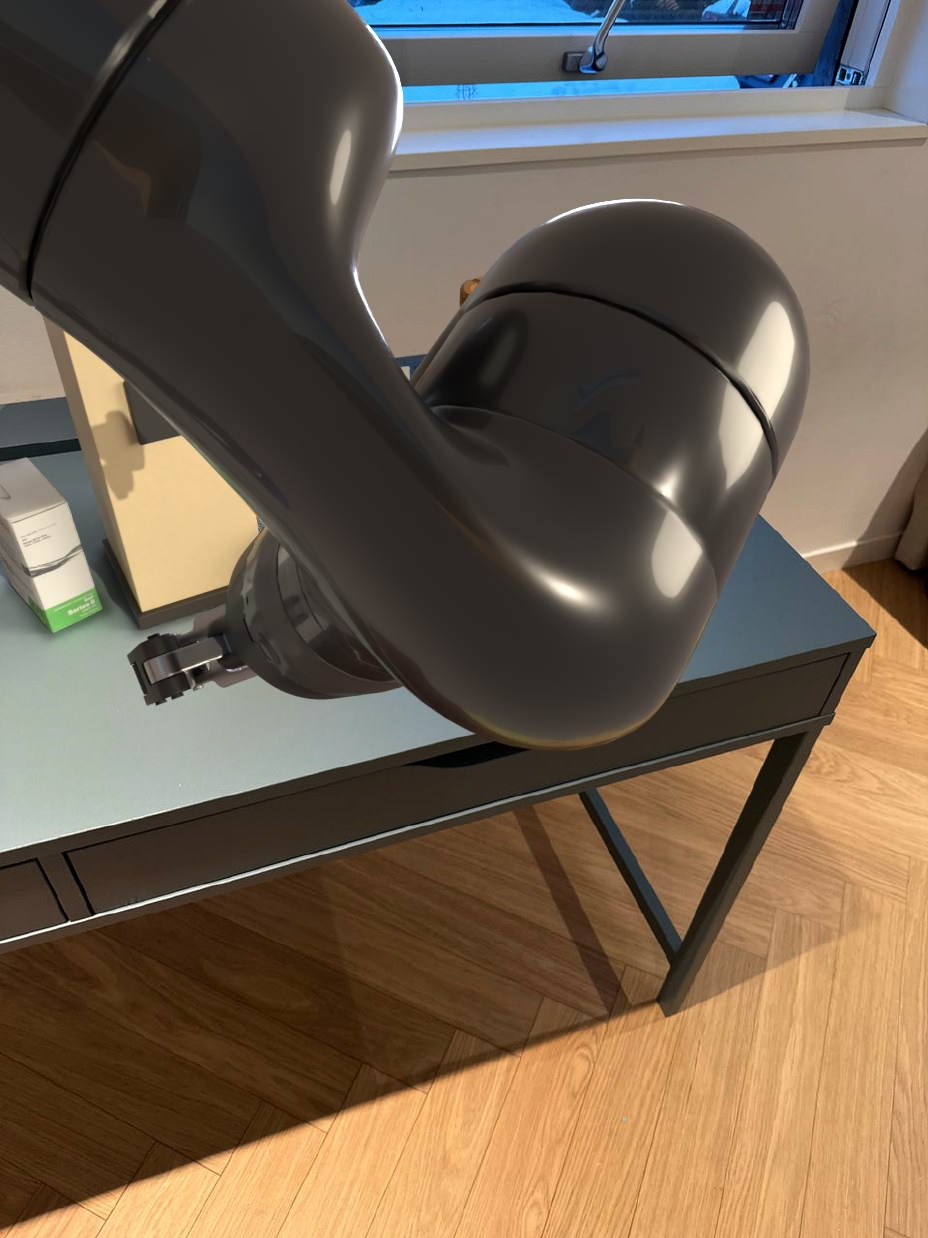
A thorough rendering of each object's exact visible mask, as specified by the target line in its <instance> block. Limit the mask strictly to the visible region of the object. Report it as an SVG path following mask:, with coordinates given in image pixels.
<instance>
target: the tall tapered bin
mask: <svg viewBox="0 0 928 1238" xmlns="http://www.w3.org/2000/svg"><path fill="white" fill-rule="evenodd" d="M42 320H43V324H44V326H45V329H46V333H47V336H48V340H49V344H50V347H51V350H52V354H53V357H54V361H55V364H56V367H57V370H58V374H59V377H60V381H61V384H62V388H63V391H64V395H65V398H66V401H67V404H68V408H69V412H70V415H71V419H72V422H73V424H74V428H75V432H76V435H77V440H78V442H79V446H80V449H81V452H82V457H83V459H84V463H85V467H86V470H87V473H88V476H89V480H90V483H91V486H92V490H93V494H94V497H95V501H96V503H97V507H98V510H99V514H100V518H101V521H102V525H103V528H104V531H105V534H106V537H107V538H103V539H102V540H101V543H102V546H103V549H104V553H105V554H106V557H107V559H108V561H109V564H110V566H111V567H112V570H113V572H114V574H115V576H116V578H117V582H118V583H119V585H120V587H121V590H122V592H123V594H124V596H125V598H126V601H127V603H128V605H129V607H130V609H131V612H132V614H133V616H134V619H135V620H136V622H137V624H138V627H139V630H141V631H144V630H147V629H151V628H154V627H156V626H160V625H163V624H166V623H169V622H173V621H176V620H179V619H181V618H184V617H185V618H186V617H188V616H190V615H195V614H197V613H200V612H203V611H207V610H209V609H214V608H217V607H219V606H221V605H224V604H226V599H227V591H228V586H229V582H230V578H231V575H232V572H233V570H234V568H235V565H236V563H237V562H238V560H239V558H240V556H241V555H242V553H243V552H244V551H245V549H246V548H247V547H248V546H249V544H250V543H251V542H252V541H253V540H254V539H255V538H256V537H257V535H258V534H259V533H260V532H259V525H258V517H257V516H256V515H255V514H254V513H253V512H252V510H251V509H250V508H249V507H248V506H247V505H246V503H245V502H244V501H243V500H242V499H241V498H240V497H239V496H238V495H237V494H236V492H235V491H234V490H233V489H232V488H231V487H230V486H229V485H228V484H227V483H226V482H225V481H224V480H223V479H222V477H221V476H220V475H219V474H218V473H217V472H216V471H215V470H214V469H213V468H212V467H211V466H210V465H209V463H208V462H207V461H206V460H205V459H204V458H203V457H202V456H201V455H200V454H199V453H198V452H197V451H196V450H195V449H194V448H193V447H192V446H191V445H190V444H189V443H188V442H187V441H186V440H185V439H184V438H183V436H182V435H181V434H180V433H179V432H178V431H177V430H176V429H175V428H174V427H173V426H172V425H171V424H170V423H169V422H167V421H166V420H165V419H164V418H163V417H162V416H161V415H160V414H159V413H158V412H157V411H156V410H155V409H154V408H153V407H152V406H151V405H150V404H149V403H148V402H147V401H146V400H145V399H144V398H143V397H142V396H141V395H140V394H139V393H138V392H137V391H136V390H135V389H134V388H132V387H131V386H130V385H129V384H128V383H127V382H126V381H125V380H124V379H123V378H122V377H120V376H119V375H118V374H117V373H116V372H115V371H114V370H113V369H112V368H111V367H109V366H108V365H107V364H106V363H105V362H103V361H102V360H101V359H100V358H99V357H97V356H96V355H95V354H94V353H92V352H91V351H90V350H89V349H88V348H86V347H85V346H84V345H83V344H81V343H80V342H79V341H77V340H76V339H74V338H73V337H72V336H70V335H69V334H68V333H66V332H65V331H63V330H62V329H61V328H59V327H58V326H56V325H55V324H54V323H52V322H51V321H49V320H48V319H47V318H45V317H44V316H42Z"/></svg>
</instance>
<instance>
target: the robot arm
mask: <svg viewBox="0 0 928 1238" xmlns="http://www.w3.org/2000/svg"><path fill="white" fill-rule="evenodd" d="M395 65H396V64H395V63H394V60H393V59H392V57H391V55H390V54H389V52H388V50H387V49H386V47H385V45H384V44H383V42H382V41H381V39H380V38H379V37H378V35H377V34H376V33H375V31H374V30H373V28H372V27H371V26H370V25H369V24H368V23H367V22H366V21H365V19H364V18H363V17H362V16H361V14H360V13H358V11H357V10H356V9H355V8H354V7H353V5H352V4H350V2H348V0H0V286H1V287H2V288H4V289H5V290H7V291H8V292H9V293H11V294H12V295H13V296H15V297H16V298H17V299H19V300H20V301H22V302H23V303H25V304H26V305H27V306H29V307H33V308H34V309H35V310H36V311H38V312H39V314H41V316H42V317H43V316H44V317H45V318H47V319H48V320H49V321H51V322H52V323H54V324H55V325H56V326H58V327H59V328H61V329H62V330H63V331H65V332H66V333H68V334H69V335H70V336H72V337H73V338H74V339H76V340H77V341H79V342H80V343H81V344H83V345H84V346H85V347H86V348H88V349H89V350H90V351H91V352H92V353H94V354H95V355H96V356H97V357H99V358H100V359H101V360H102V361H103V362H105V363H106V364H107V365H108V366H109V367H111V368H112V369H113V370H114V371H115V372H116V373H117V374H118V375H119V376H120V377H122V378H123V379H124V380H125V381H126V382H127V383H128V384H129V385H130V386H131V387H132V388H134V389H135V390H136V391H137V392H138V393H139V394H140V395H141V396H142V397H143V398H144V399H145V400H146V401H147V402H148V403H149V404H150V405H151V406H152V407H153V408H154V409H155V410H156V411H157V412H158V413H159V414H160V415H161V416H162V417H163V418H164V419H165V420H166V421H167V422H169V423H170V424H171V425H172V426H173V427H174V428H175V429H176V430H177V431H178V432H179V433H180V434H181V435H182V436H183V438H184V439H185V440H186V441H187V442H188V443H189V444H190V445H191V446H192V447H193V448H194V449H195V450H196V451H197V452H198V453H199V454H200V455H201V456H202V457H203V458H204V459H205V460H206V461H207V462H208V463H209V465H210V466H211V467H212V468H213V469H214V470H215V471H216V472H217V473H218V474H219V475H220V476H221V477H222V479H223V480H224V481H225V482H226V483H227V484H228V485H229V486H230V487H231V488H232V489H233V490H234V491H235V492H236V494H237V495H238V496H239V497H240V498H241V499H242V500H243V501H244V502H245V503H246V505H247V506H248V507H249V508H250V509H251V510H252V512H253V513H254V514H255V515H256V518H257V520H259V521H260V523H262V524H263V526H264V527H263V528H262V529H261V531H260V532H259V534H258V535H257V537H256V538H255V539H254V540H253V541H252V542H251V543H250V544H249V546H248V547H247V548H246V549H245V551H244V552H243V553H242V555H241V556H240V558H239V560H238V562H237V563H236V565H235V568H234V570H233V572H232V575H231V578H230V582H229V586H228V591H227V599H226V603H225V604H222V605H219V606H216V607H214V608H211V610H207V611H206V612H203V613H201V614H199V615H197V616H196V617H194V619H193V625H192V629H191V630H190V631H188V632H186V633H183V632H181V633H177V632H172V633H170V632H167V633H163V634H160V632H156V633H153V634H151V635H148V636H147V637H146V640H144V641H141V642H140V643H139V644H138V645H136V646H135V647H134V648H132V650H131V651H130V652H128V654H127V655H126V657H127V659H128V662H129V664H130V666H132V668H133V672H134V674H135V676H136V679H137V682H138V683H139V687H140V690H141V691H142V694H143V700H144V702H145V705H146V707H147V706H150V705H152V704H155V706H156V707H157V706H159V705H163V704H165V703H167V702H168V701H167V699H169V698H170V700H171V701H173V700H176V699H179V698H181V697H183V696H185V694H184V692H187V691H190V690H192V692H195V691H199V690H201V689H203V688H204V685H205V684H207V683H210V682H214V683H215V684H216V685H217V686H218V687H220V688H223V689H225V688H228V687H231V686H233V685H234V686H235V685H236V684H239V683H241V682H245V681H248V680H251V679H252V678H255V677H259V678H260V679H262V680H263V681H265V682H266V683H267V684H269V686H272V687H273V688H275V689H277V690H279V691H281V692H283V693H285V694H288V695H291V696H293V697H297V698H302V699H308V700H318V701H319V700H320V701H321V700H322V701H323V700H335V699H343V698H351V697H358V696H365V695H366V696H367V695H373V694H380V693H386V692H390V691H393V690H396V689H397V690H398V689H400V688H405V689H406V690H407V691H408V692H409V693H411V694H412V695H413V696H414V697H415V698H416V699H417V700H419V701H420V702H422V703H423V704H424V705H425V706H427V707H428V708H430V709H431V710H433V711H434V712H435V713H437V714H438V715H440V716H441V717H443V719H446V720H448V721H449V722H452V723H453V724H455V725H457V726H459V727H460V728H462V729H463V730H466V731H467V732H470V733H472V734H475V735H477V736H480V737H482V738H484V739H487V740H490V741H492V742H496V743H499V744H503V745H507V746H510V747H516V748H520V749H527V750H532V751H545V752H546V751H549V752H550V751H551V752H553V751H554V752H568V751H569V752H571V751H572V752H573V751H578V750H584V749H588V748H589V749H590V748H593V747H598V746H603V745H607V744H609V743H611V742H613V741H615V740H618V739H620V738H623V737H624V736H626V735H629V734H631V733H634V731H636V730H638V729H639V728H640V727H641V726H643V725H644V724H645V723H647V722H648V721H649V720H650V719H651V718H652V717H654V715H655V714H656V713H658V711H659V710H660V709H661V708H662V706H663V705H664V703H665V702H666V701H667V699H668V698H669V697H670V695H671V693H673V691H674V689H675V688H676V687H677V685H678V684H679V682H680V680H681V678H682V677H683V674H684V673H685V671H686V668H687V666H688V665H689V662H690V661H691V659H692V657H693V655H694V653H695V651H696V648H697V647H698V645H699V644H700V643H699V642H700V640H701V638H702V637H703V634H704V632H705V630H706V628H707V625H708V623H709V621H710V620H711V616H712V614H713V612H714V610H715V609H716V605H717V601H718V600H719V598H720V597H721V594H722V592H723V590H724V588H725V586H726V584H727V582H728V579H729V578H730V575H731V573H732V571H733V569H734V567H735V565H736V563H737V561H738V559H739V557H740V555H741V552H742V550H743V548H744V546H745V544H746V542H747V539H748V537H749V535H750V533H751V531H752V529H753V527H754V526H755V525H754V524H755V523H756V520H757V519H758V516H759V515H760V512H761V510H762V508H763V506H764V504H765V502H766V499H767V498H768V497H767V496H768V494H769V493H770V491H771V489H772V487H773V485H774V483H775V481H776V479H777V477H778V475H779V472H780V470H781V468H782V466H783V464H784V461H785V460H786V457H787V455H788V453H789V451H790V449H791V446H792V444H793V442H794V441H795V438H796V435H797V433H798V430H799V428H800V424H801V421H802V417H803V414H804V410H805V406H806V402H807V397H808V392H809V387H810V379H811V378H810V377H811V351H810V347H811V345H810V337H809V329H808V324H807V321H806V317H805V314H804V310H803V307H802V305H801V302H800V300H799V298H798V295H797V294H796V292H795V290H794V288H793V287H792V285H791V283H790V281H789V280H788V277H787V276H786V274H785V272H784V271H783V270H782V269H781V267H780V265H779V264H778V263H777V262H776V260H775V259H774V257H772V256H771V254H770V253H769V252H767V250H766V249H765V248H764V247H763V246H762V245H761V244H760V243H759V242H757V241H756V240H755V239H754V238H753V237H752V236H750V235H749V234H748V233H747V232H746V231H744V230H742V229H741V228H739V227H738V226H736V225H734V224H733V223H731V222H730V221H728V220H726V219H724V218H722V217H719V216H718V215H716V214H714V213H711V212H708V211H706V210H703V209H700V208H697V207H694V206H692V205H687V204H682V203H678V202H674V201H666V200H660V199H645V198H642V199H641V198H631V199H616V200H611V201H603V202H597V203H594V204H589V205H585V206H581V207H578V208H575V209H572V210H570V211H567V212H563V213H562V214H558V215H557V216H555V217H552V218H551V219H548V220H546V221H544V222H543V223H541V224H540V225H537V226H536V227H534V228H533V229H531V230H530V231H528V232H527V233H525V234H524V235H522V236H521V237H520V238H518V239H517V240H516V241H515V242H514V243H513V244H512V245H510V246H509V247H508V248H507V249H506V250H505V251H504V252H503V253H501V255H500V256H499V257H498V258H497V260H496V261H495V262H494V263H493V264H492V265H491V266H490V267H489V268H488V270H487V271H486V272H485V274H484V275H482V276H483V278H482V279H481V280H480V282H479V283H478V284H477V286H476V287H475V288H474V290H473V291H472V292H471V294H470V295H469V296H468V298H467V299H466V300H465V302H464V303H463V304H462V306H461V307H460V306H459V308H458V309H457V311H456V313H454V315H453V317H452V318H451V319H450V321H449V322H448V324H447V325H446V326H445V328H444V329H443V330H442V332H441V333H440V334H439V336H438V337H437V339H436V340H435V342H434V343H433V344H432V346H431V347H430V349H429V350H428V352H427V353H426V355H425V356H424V357H423V358H422V361H421V362H420V363H419V365H418V366H417V367H416V368H415V370H414V372H413V373H412V374H411V376H410V379H409V380H408V378H407V377H406V375H405V374H404V372H403V370H402V369H401V367H402V366H401V365H400V364H399V362H398V360H397V359H396V357H395V355H394V353H393V351H392V349H391V348H390V345H389V344H388V341H387V340H386V338H385V336H384V333H383V332H382V330H381V329H380V326H379V325H378V321H377V320H376V318H375V316H374V314H373V312H372V309H371V308H370V306H369V303H368V301H367V299H366V296H365V294H364V291H363V288H362V286H361V283H360V275H359V262H360V255H361V250H362V243H363V239H364V236H365V234H366V232H367V228H368V225H369V223H370V221H371V217H372V215H373V213H374V210H375V207H376V206H377V203H378V200H379V199H380V195H381V193H382V190H383V188H384V186H385V184H386V181H387V178H388V176H389V173H390V171H391V168H392V165H393V163H394V159H395V155H396V153H397V149H398V145H399V141H400V139H401V135H402V129H403V122H404V94H403V89H402V84H401V79H400V74H399V73H398V71H397V67H396V66H395ZM207 664H208V665H209V668H208V665H207Z"/></svg>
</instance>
